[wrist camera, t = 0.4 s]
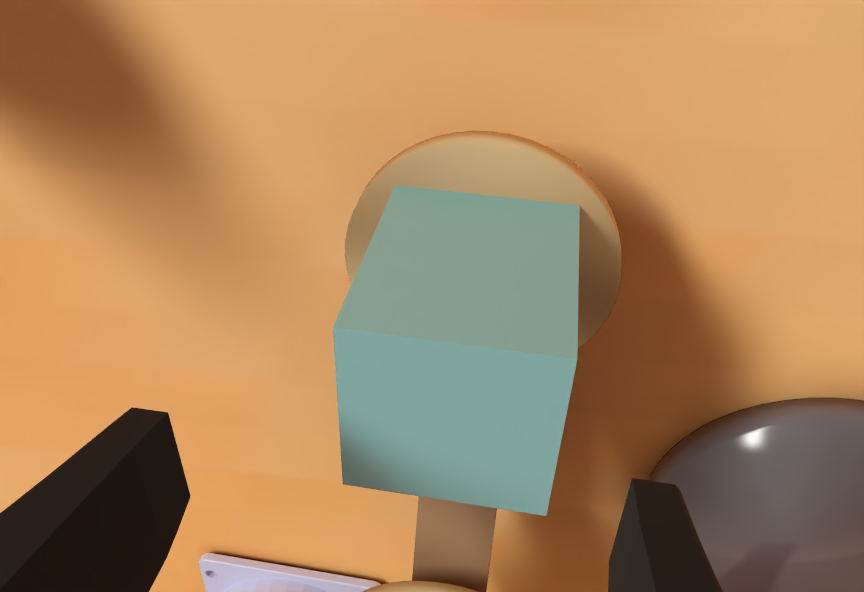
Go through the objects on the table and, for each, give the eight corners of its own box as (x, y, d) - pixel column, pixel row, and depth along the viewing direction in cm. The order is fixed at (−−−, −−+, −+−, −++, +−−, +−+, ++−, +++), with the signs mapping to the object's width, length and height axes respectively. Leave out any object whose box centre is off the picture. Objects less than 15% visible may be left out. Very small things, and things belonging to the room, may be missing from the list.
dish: (900, 617, 27) (910, 644, 26) (619, 571, 28) (620, 595, 27) (1046, 424, 21) (1065, 451, 20) (681, 376, 22) (684, 400, 21)
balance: (543, 562, 28) (535, 732, 23) (380, 535, 29) (338, 694, 24) (639, 101, 17) (661, 241, 12) (372, 77, 18) (292, 200, 13)
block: (555, 348, 18) (546, 516, 14) (394, 327, 19) (342, 484, 15) (579, 205, 16) (577, 359, 12) (394, 185, 16) (333, 327, 12)
